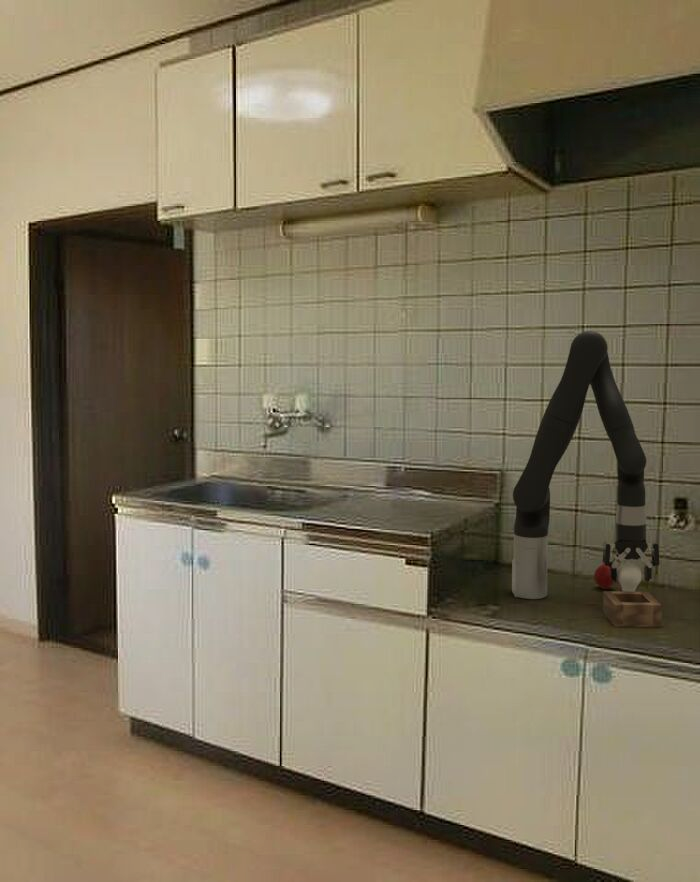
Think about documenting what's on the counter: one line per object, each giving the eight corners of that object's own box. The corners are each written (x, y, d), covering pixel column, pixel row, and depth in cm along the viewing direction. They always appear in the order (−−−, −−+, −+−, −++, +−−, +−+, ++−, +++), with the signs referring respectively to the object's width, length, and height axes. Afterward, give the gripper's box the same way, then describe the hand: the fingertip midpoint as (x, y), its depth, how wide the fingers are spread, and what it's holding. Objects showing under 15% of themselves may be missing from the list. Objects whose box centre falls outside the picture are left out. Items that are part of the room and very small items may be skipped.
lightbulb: (640, 608, 207) (642, 567, 206) (615, 605, 209) (616, 565, 208) (640, 601, 213) (642, 561, 212) (616, 598, 215) (617, 559, 214)
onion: (611, 593, 220) (611, 565, 219) (590, 590, 224) (591, 562, 223) (618, 588, 225) (618, 561, 224) (598, 585, 228) (598, 558, 228)
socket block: (614, 626, 193) (615, 604, 193) (602, 611, 204) (603, 591, 204) (661, 627, 193) (661, 605, 192) (646, 612, 204) (647, 591, 203)
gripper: (607, 524, 206) (607, 585, 207) (663, 523, 205) (662, 584, 206) (600, 519, 213) (600, 577, 215) (654, 518, 212) (653, 577, 214)
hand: (630, 581), depth 210 cm, fingers open, 8 cm apart
